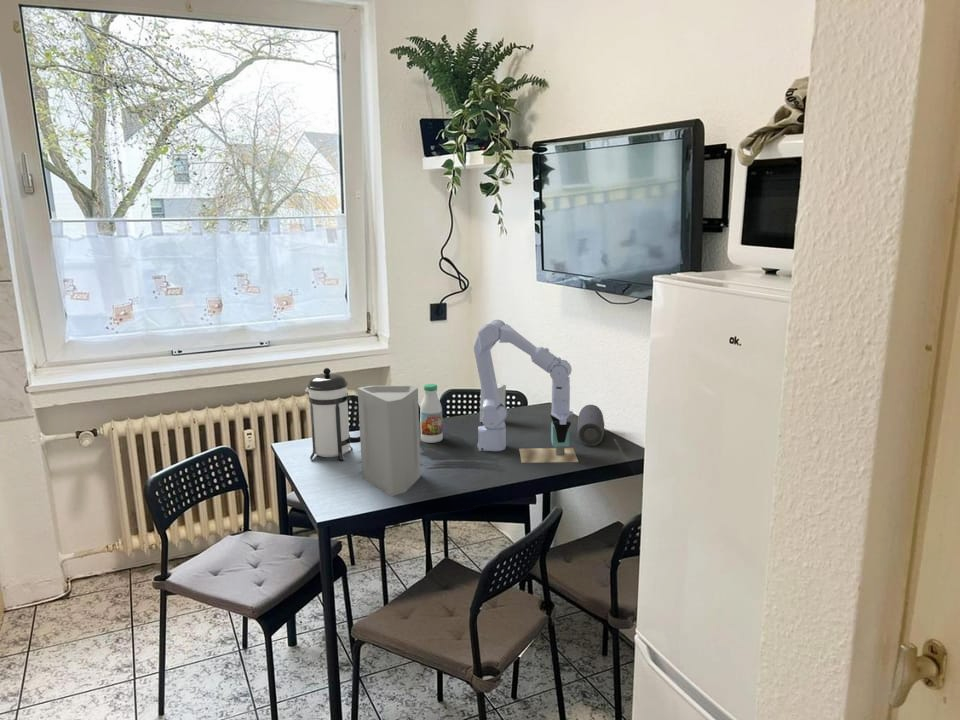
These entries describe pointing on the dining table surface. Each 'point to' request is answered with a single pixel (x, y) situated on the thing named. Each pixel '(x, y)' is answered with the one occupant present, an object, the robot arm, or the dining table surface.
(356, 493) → the dining table surface
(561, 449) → the post
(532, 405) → the dining table surface
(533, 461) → the base board
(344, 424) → the coffee press
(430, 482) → the dining table surface
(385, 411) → the hollow triangular prism
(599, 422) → the bluetooth speaker
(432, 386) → the milk bottle
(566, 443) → the teal foam brick
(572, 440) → the dining table surface
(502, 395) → the skincare box
